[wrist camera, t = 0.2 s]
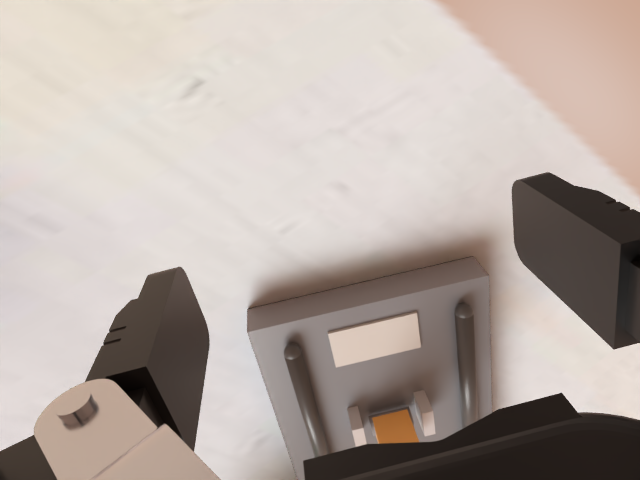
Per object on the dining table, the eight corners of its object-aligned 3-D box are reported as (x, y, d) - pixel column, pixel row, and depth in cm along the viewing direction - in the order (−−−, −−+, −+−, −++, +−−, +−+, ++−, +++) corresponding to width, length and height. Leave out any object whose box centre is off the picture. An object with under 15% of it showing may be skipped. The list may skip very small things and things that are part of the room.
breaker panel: (247, 309, 33) (247, 353, 29) (473, 256, 33) (503, 292, 29) (306, 486, 42) (312, 538, 38) (481, 444, 43) (504, 491, 39)
